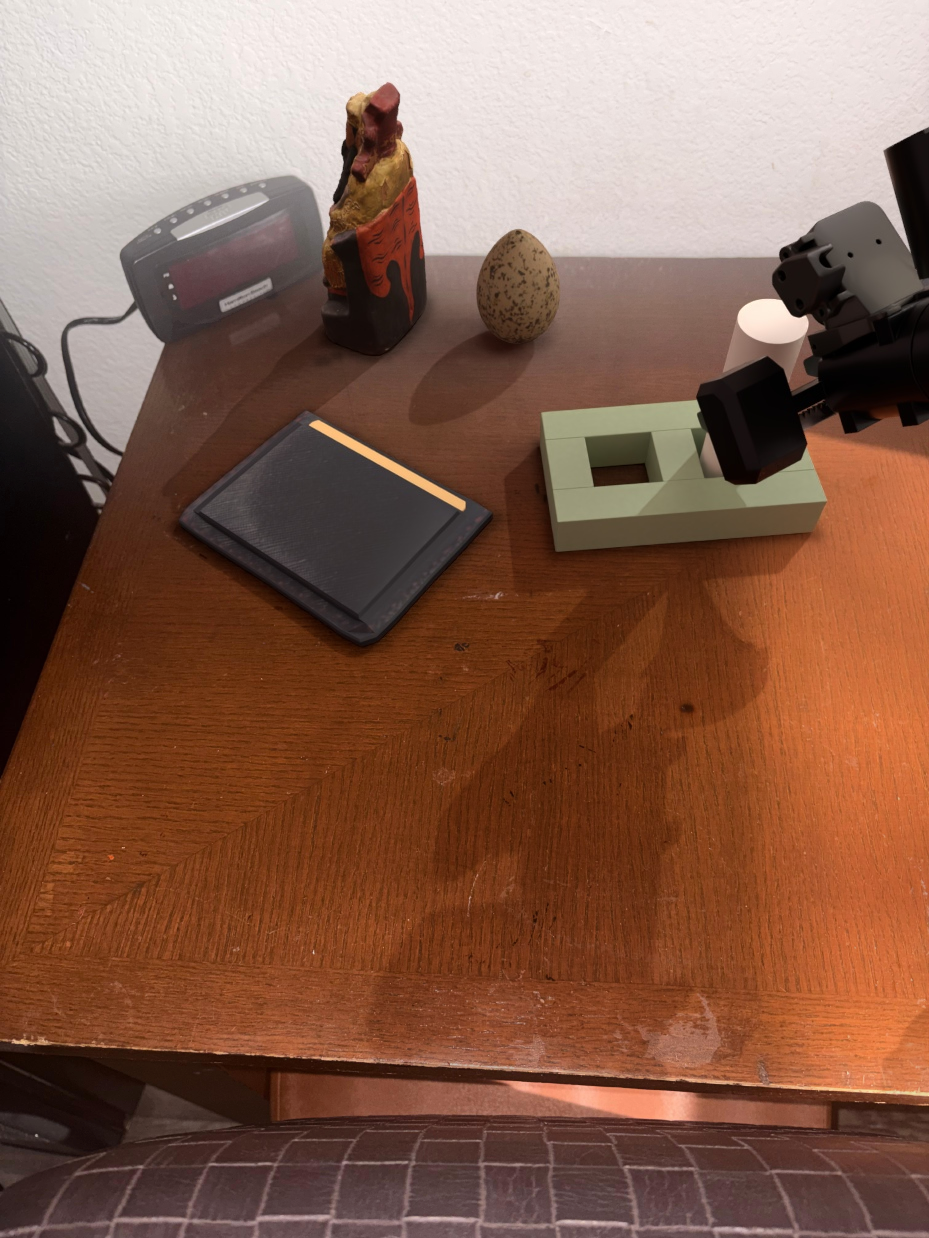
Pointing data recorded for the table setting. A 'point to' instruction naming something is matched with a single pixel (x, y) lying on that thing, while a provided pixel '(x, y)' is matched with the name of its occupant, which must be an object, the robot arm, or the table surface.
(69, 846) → the table surface
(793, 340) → the tube
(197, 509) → the wallet
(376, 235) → the statue
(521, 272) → the decorative egg
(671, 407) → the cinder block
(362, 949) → the table surface
